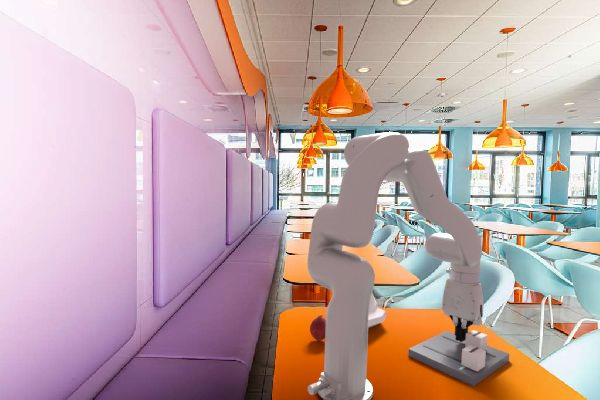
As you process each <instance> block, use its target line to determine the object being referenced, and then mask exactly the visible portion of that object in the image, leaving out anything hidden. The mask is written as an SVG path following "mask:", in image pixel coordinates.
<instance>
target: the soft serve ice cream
mask: <svg viewBox="0 0 600 400" xmlns="http://www.w3.org/2000/svg"><path fill="white" fill-rule="evenodd" d="M386 318H387V312H386V310H384V309H381V308H380V307H378V303H377V301H376V299H375V296H374V293H373V292H372V295H371V299H370V305H369V318H368V329H369V328H371V327H375V326H376V325H378V324H381V323H383V322H384V321H385V319H386Z"/></svg>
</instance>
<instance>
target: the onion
mask: <svg viewBox="0 0 600 400" xmlns="http://www.w3.org/2000/svg"><path fill="white" fill-rule="evenodd" d="M325 331H326V318H324V317H323V314H321V313H320V314H318V316H317V317H316V318H314V319H313V320H312V321H311V323H310V327H309V332H310V335H311V337H312V338H313V339H315V340H316V341H317V342H322V341H323V340H324V339H325Z"/></svg>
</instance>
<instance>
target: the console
mask: <svg viewBox="0 0 600 400" xmlns="http://www.w3.org/2000/svg"><path fill="white" fill-rule="evenodd" d="M465 343H466V340H464V341H462V342H460V341H459V340H458V341H457V340H456V336H455V332H452V331H449V330H445V331H443V332H441V333H439V334H436V335H434V336H432V337H431V338H428V339H426V340H424V341H422V342H420V343H418V344H416V345H413V346H411V347H409V348H408V357H410V358H412V359H415V360H416V361H419V362H421V363H422V364H423V363H424V364H425V365H428V366H429V367H431V368H434V369H435V370H438V371H441V372H442V373H444V374H447V375H449V376H450V377H453V378H455V379H457V380H458V381H462V382H463V383H466V384H467V385H470V386H472V387H475V386H476V385H478V384H480V382H482V381H484V380H485V379H487V378H488V377H489V376H490V375H492V374H493V373H494V372H495V371H497V370H498V369H500V368H502V367H503V366H504V365H505V364H507V363H509V362H510V353H509V352H506V351H504V350H500V349H497V348H495V347H492V346H490V345H487V349H486V350H484V351H486V357H485V367H483V368H482V369H481V370H479V371H478V372H477V371H475V370H472V369H470V368H468V367H465V366H463V365H461V361H462V349H464V348H465Z"/></svg>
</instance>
